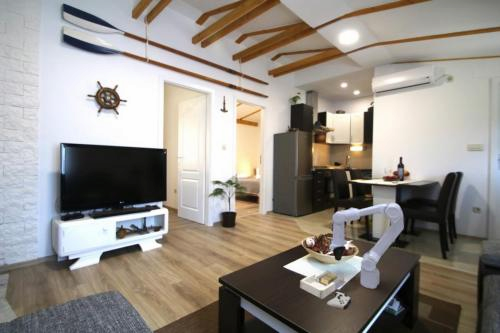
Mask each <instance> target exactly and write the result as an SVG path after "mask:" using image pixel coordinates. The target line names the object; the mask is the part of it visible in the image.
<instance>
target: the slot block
mask: <svg viewBox="0 0 500 333" xmlns="http://www.w3.org/2000/svg"><path fill="white" fill-rule="evenodd" d="M329 273H332V271H329V270H327V271H326V270H325V271H324V272H323V273H320V275H318V276H315V281H316V282H318V283H320V284H322V283H321V278H322V277H324V276H325V275H327V274H329ZM333 282H334V283H335V291H336V290H338V289H339V288H341V287H342V286H344V285H345V284H347V281H345V277H344V276H343V275H340V276H339V277H337V279H336V280H334V281H333ZM331 283H332V282H331ZM323 285H325V284H323ZM325 286H327V285H325Z"/></svg>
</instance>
